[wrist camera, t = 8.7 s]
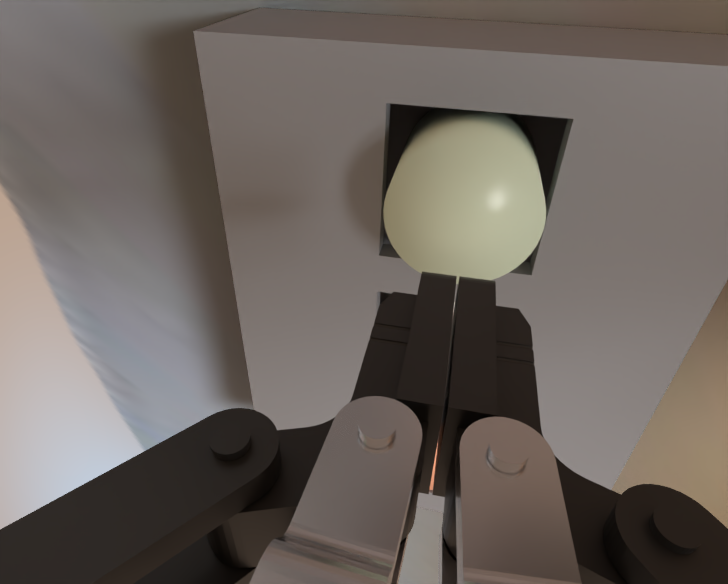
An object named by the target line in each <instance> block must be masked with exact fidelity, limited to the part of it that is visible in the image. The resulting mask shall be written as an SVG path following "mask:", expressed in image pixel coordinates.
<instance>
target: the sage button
mask: <svg viewBox="0 0 728 584" xmlns="http://www.w3.org/2000/svg"><path fill="white" fill-rule="evenodd" d="M383 213H384V224H385V229H386V232H387V236H388V238H389V240H390V242H391V244H392V246H393V248H394V249H395V251H396V252H397V253H398V255H399V256H400V257H401V258H402V259H403V260H404V261H405V262H406V263H407V264H408V265H409V266H411V267H412V268H413V269H415V270H416V271H418V272H420V273H421V274H422V271H423V272H430V273H438V274H446V275H453V276H457V279H456V284H458V282H459V277H460V276H462V277H470V278H477V279H485V280H493V279H496V278H499V277H501V276H503V275H505V274H507V273H509V272H510V271H512V270H514V269H515V268H517V267H518V266H519V265H520V264H521V263H523V262H524V261H525V260H526V259H527V258H528V256H529V255H530V254H531V253H532V252H533V250H534V249H535V247H536V246H537V244H538V242H539V240H540V238H541V236H542V233H543V230H544V226H545V220H546V203H545V196H544V191H543V186H542V181H541V176H540V170H539V165H538V160H537V155H536V149H535V145H534V141H533V138H532V135H531V133H530V131H529V129H528V127H527V126H526V124H525V123H524V121H523V120H522V119H521V118H520V117H519V116H518V115H517V114H510V113H498V112H486V111H474V110H462V109H450V108H438V107H435V108H434V109H432V110H431V111H430V112H428V113H427V114H426V115H425V116H424V117H423V118H422V119H421V120H420V121H419V122H418V123H417V124H416V126H415V127H414V129H413V130H412V132H411V134H410V136H409V138H408V140H407V143H406V145H405V148H404V150H403V153H402V155H401V158H400V160H399V163H398V165H397V168H396V170H395V173H394V175H393V178H392V180H391V183H390V185H389V188H388V190H387V193H386V197H385V201H384V209H383Z"/></svg>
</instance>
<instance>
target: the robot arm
mask: <svg viewBox="0 0 728 584" xmlns="http://www.w3.org/2000/svg"><path fill="white" fill-rule="evenodd" d="M456 279H457V276H453V275H446V274H438V273H430V272H423V271H422V274H421V278H420V283H419V288H418V293H417V295H415V294H407V293H400V292H393V293H392V294H391V295H390V296H389V297H387V298H386V299H385V300H384V301H383V302H382V303H381V304H380V305H379V308H378V311H377V315H376V318H375V322H374V326H373V328H372V332H371V335H370V340H369V342H368V345H367V349H366V352H365V355H364V359H363V362H362V365H361V369H360V372H359V376H358V379H357V382H356V386H355V389H354V393H353V396H352V398H351V401H350V402H349V403H348V404H347V405H345V406H344V407H343V408H342V409H341V410H340V411H339V412H338V413H337V415H336V417H334V418H333V419H331V420H329V421H327V422H325V423H322V424H319V425H316V426H310V427H304V428H294V429H284V430H277V429H276V426H275V425H274V423H273V422H272V421H271V420H270V419H269V418H268V417H267V416H265V415H264V414H262V413H260V412H258V411H255V410H251V409H244V408H235V409H228V410H224V411H221V412H217V413H215V414H213V415H211V416H209V417H207V418H205V419H203V420H201V421H200V422H198V423H196V424H194V425H192V426H190V427H189V428H187V429H185V430H183V431H181V432H179V433H178V434H176V435H174V436H172V437H170V438H168V439H166V440H165V441H163V442H161V443H159V444H157V445H155V446H154V447H152V448H150V449H148V450H146V451H144V452H143V453H141V454H139V455H137V456H135V457H133V458H131V459H130V460H128V461H126V462H124V463H122V464H120V465H119V466H117V467H115V468H113V469H111V470H109V471H108V472H106V473H104V474H102V475H100V476H98V477H97V478H95V479H93V480H91V481H89V482H87V483H85V484H84V485H82V486H80V487H78V488H76V489H74V490H73V491H71V492H69V493H67V494H65V495H64V496H62V497H60V498H58V499H56V500H54V501H52V502H50V503H49V504H47V505H45V506H43V507H41V508H40V509H38V510H36V511H34V512H32V513H30V514H28V515H26V516H25V517H23V518H21V519H19V520H17V521H15V522H13V523H12V524H10V525H8V526H6V527H4V528H2V529H1V530H0V584H398V581H399V576H400V571H401V567H402V562H403V558H404V553H405V548H406V544H407V539H408V534H409V532H410V531H411V529H412V527H413V524H414V520H415V514H416V507H417V501H418V494H419V493H424V494H429V489H430V483H431V477H432V472H433V466H434V460H435V454H436V449H437V455H436V465H435V474H434V484H433V494H432V495H436V496H441V497H445V501H444V514H443V523H442V528H441V532H440V537H439V584H728V529H727V528H726V527H725V526H724V525H723V524H722V523H721V522H720V521H719V520H717V519H716V518H715V517H714V516H713V515H712V514H711V513H710V512H709V511H708V510H706V509H705V508H704V507H703V506H701V505H700V504H699V503H698V502H696V501H695V500H693V499H692V498H690V497H688V496H686V495H685V494H683V493H681V492H679V491H676V490H674V489H671V488H668V487H664V486H661V485H654V484H642V485H637V486H633V487H631V488H629V489H627V490H626V491H625V492H623V493H622V495H621V494H618V493H616V492H614V491H612V490H610V489H608V488H606V487H603V486H601V485H599V484H597V483H595V482H593V481H590V480H588V479H586V478H584V477H582V476H580V475H579V474H577V473H575V472H574V471H572V470H571V469H569V468H568V467H567V466H565V465H564V464H563V463H562V462H561V461H560V460H559V459H558V458H557V457H556V456H555V455H554V453H553V451H552V449H551V447H550V445H549V444H548V443H547V441H546V440H545V439H544V437H543V434H542V430H541V423H540V413H539V403H538V392H537V382H536V372H535V366H534V352H533V350H532V348H533V342H532V332H531V326H530V325H529V323H528V322H527V320H526V319H525V317H524V316H523V314H522V313H521V311H520V310H519V309H517V308H510V307H503V306H496V282H495V281H493V280H485V279H477V278H470V277H462V276H460V277H459V282H458V288H457V294H456V300H455V306H454V299H455V289H456ZM453 309H454V312H453ZM437 443H438V445H437Z"/></svg>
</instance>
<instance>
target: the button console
mask: <svg viewBox="0 0 728 584" xmlns="http://www.w3.org/2000/svg"><path fill="white" fill-rule="evenodd" d="M193 33H194V39H195V46H196V52H197V58H198V64H199V71H200V77H201V83H202V89H203V96H204V102H205V108H206V114H207V121H208V127H209V133H210V139H211V145H212V152H213V158H214V164H215V170H216V177H217V183H218V189H219V195H220V202H221V208H222V214H223V220H224V227H225V233H226V239H227V245H228V251H229V258H230V264H231V270H232V276H233V283H234V289H235V295H236V301H237V308H238V314H239V320H240V326H241V333H242V339H243V345H244V351H245V357H246V364H247V370H248V376H249V382H250V389H251V395H252V401H253V407H254V410H255V411H258V412H260V413H262V414H264V415H265V416H267V417H268V418H269V419H270V420H271V421H272V422H273V423H274V425H275V426H276V429H277V430H284V429H294V428H304V427H310V426H316V425H319V424H322V423H325V422H327V421H329V420H331V419H333V418H334V417H336V415H337V413H338V412H339V411H340V410H341V409H342V408H343V407H344V406H345V405H347V404H348V403H349V402H350V401H351V398H352V396H353V393H354V389H355V386H356V382H357V379H358V376H359V372H360V369H361V365H362V362H363V359H364V355H365V352H366V349H367V345H368V342H369V340H370V335H371V332H372V328H373V326H374V322H375V318H376V315H377V311H378V308H379V305H380V304H381V303H382V302H383V301H384V300H385V299H386V298H387V297H389V296H390V295H391V294H392V293H393V292H400V293H407V294H415V295H417V293H418V288H419V283H420V278H421V273H420V272H418V271H416V270H415V269H413V268H412V267H411V266H409V265H408V264H407V263H406V262H405V261H404V260H403V259H402V258H401V257H400V256H399V255H398V253H397V252H396V251H395V249H394V248H393V246H392V244H391V242H390V240H389V238H388V236H387V232H386V229H385V224H384V213H383V209H384V201H385V197H386V193H387V190H388V188H389V185H390V183H391V180H392V178H393V175H394V173H395V170H396V168H397V165H398V163H399V160H400V158H401V155H402V153H403V150H404V148H405V145H406V143H407V140H408V138H409V136H410V134H411V132H412V130H413V129H414V127H415V126H416V124H417V123H418V122H419V121H420V120H421V119H422V118H423V117H424V116H425V115H426V114H427V113H428V112H430V111H431V110H432V109H434V108H435V107H438V108H450V109H462V110H474V111H486V112H498V113H510V114H517V115H518V116H519V117H520V118H521V119H522V120H523V121H524V123H525V124H526V126H527V127H528V129H529V131H530V133H531V135H532V138H533V141H534V145H535V149H536V155H537V160H538V165H539V170H540V176H541V181H542V186H543V191H544V196H545V203H546V220H545V226H544V230H543V233H542V236H541V238H540V240H539V242H538V244H537V246H536V247H535V249H534V250H533V252H532V253H531V254H530V255H529V256H528V258H527V259H526V260H525V261H524V262H523V263H521V264H520V265H519V266H518V267H517V268H515V269H514V270H512V271H510V272H509V273H507V274H505V275H503V276H501V277H499V278H496V279H493V281H495V282H496V306H503V307H510V308H517V309H519V310H520V311H521V313H522V314H523V316H524V317H525V319H526V320H527V322H528V323H529V325H530V326H531V332H532V342H533V348H532V350H533V352H534V366H535V372H536V382H537V392H538V403H539V413H540V423H541V430H542V434H543V437H544V439H545V440H546V441H547V443H548V444H549V445H550V447H551V449H552V451H553V453H554V455H555V456H556V457H557V458H558V459H559V460H560V461H561V462H562V463H563V464H564V465H565V466H567V467H568V468H569V469H571V470H572V471H574V472H575V473H577V474H579V475H580V476H582V477H584V478H586V479H588V480H590V481H593V482H595V483H597V484H599V485H601V486H603V487H606V488H608V489H610V490H611V489H612V487H613V486H614V484H615V482H616V480H617V478H618V477H619V475H620V473H621V471H622V469H623V468H624V466H625V464H626V462H627V460H628V459H629V457H630V455H631V453H632V451H633V450H634V448H635V446H636V444H637V442H638V441H639V439H640V437H641V435H642V433H643V432H644V430H645V428H646V426H647V424H648V423H649V421H650V419H651V417H652V415H653V413H654V412H655V410H656V408H657V406H658V404H659V403H660V401H661V399H662V397H663V395H664V394H665V392H666V390H667V388H668V386H669V385H670V383H671V381H672V379H673V377H674V376H675V374H676V372H677V370H678V368H679V367H680V365H681V363H682V361H683V359H684V358H685V356H686V354H687V352H688V350H689V349H690V347H691V345H692V343H693V341H694V340H695V338H696V336H697V334H698V332H699V331H700V329H701V327H702V325H703V323H704V322H705V320H706V318H707V316H708V314H709V313H710V311H711V309H712V307H713V305H714V303H715V302H716V300H717V298H718V296H719V294H720V293H721V291H722V289H723V287H724V285H725V284H726V282H727V280H728V35H727V34H710V33H692V32H675V31H657V30H640V29H622V28H605V27H588V26H570V25H553V24H535V23H518V22H500V21H483V20H465V19H448V18H431V17H413V16H396V15H378V14H361V13H343V12H326V11H308V10H291V9H273V8H257V9H255V10H252V11H249V12H246V13H243V14H240V15H237V16H234V17H232V18H229V19H226V20H223V21H220V22H217V23H214V24H212V25H209V26H206V27H203V28H200V29H197V30H194V31H193ZM457 288H458V284H456V289H455V299H454V302H455V300H456V294H457ZM432 494H433V490H429V494H424V493H419V494H418V501H417V508H422V509H427V510H432V511H437V512H442V513H444V501H445V497H441V496H436V495H432Z"/></svg>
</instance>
